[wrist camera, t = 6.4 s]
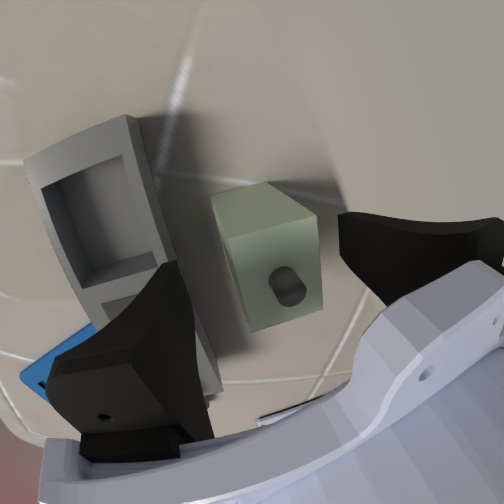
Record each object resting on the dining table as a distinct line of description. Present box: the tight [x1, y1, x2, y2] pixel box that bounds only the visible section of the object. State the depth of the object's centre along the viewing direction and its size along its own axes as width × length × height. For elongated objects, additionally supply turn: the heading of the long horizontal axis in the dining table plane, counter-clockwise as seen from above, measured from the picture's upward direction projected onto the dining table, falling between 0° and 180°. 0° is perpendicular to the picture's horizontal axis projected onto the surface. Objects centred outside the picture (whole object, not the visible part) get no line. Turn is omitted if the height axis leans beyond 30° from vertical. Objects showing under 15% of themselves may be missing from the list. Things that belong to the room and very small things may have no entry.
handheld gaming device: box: [20, 322, 97, 403], centre depth 17 cm, size 8×1×15 cm
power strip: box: [24, 115, 223, 409], centre depth 14 cm, size 21×5×4 cm, turn 11°
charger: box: [210, 182, 323, 332], centre depth 12 cm, size 4×3×7 cm
